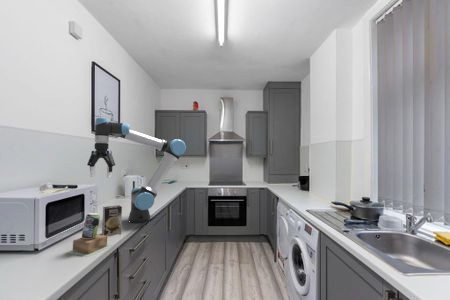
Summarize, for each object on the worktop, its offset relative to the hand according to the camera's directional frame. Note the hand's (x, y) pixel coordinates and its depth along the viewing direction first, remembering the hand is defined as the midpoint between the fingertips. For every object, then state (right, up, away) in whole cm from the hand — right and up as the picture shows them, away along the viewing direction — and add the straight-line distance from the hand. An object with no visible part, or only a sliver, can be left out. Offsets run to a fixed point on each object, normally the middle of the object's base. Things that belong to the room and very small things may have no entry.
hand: (100, 177), depth 134 cm
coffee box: (+11, -33, -7) cm, 35 cm away
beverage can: (+12, -26, -29) cm, 40 cm away
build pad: (+12, -31, -29) cm, 44 cm away
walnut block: (+12, -31, -29) cm, 44 cm away
